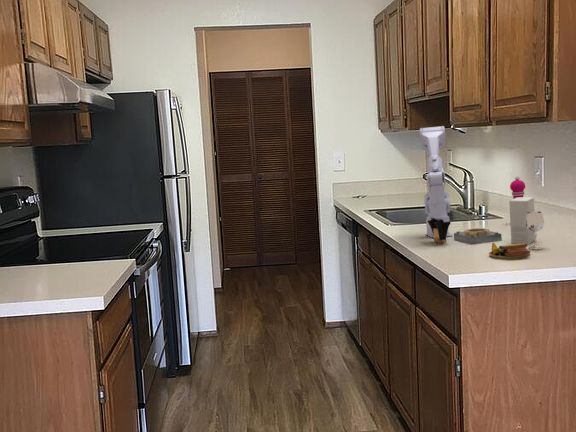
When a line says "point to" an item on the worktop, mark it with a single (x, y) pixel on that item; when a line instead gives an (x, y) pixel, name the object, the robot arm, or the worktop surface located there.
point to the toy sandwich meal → (509, 251)
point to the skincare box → (521, 220)
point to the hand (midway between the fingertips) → (440, 239)
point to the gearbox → (477, 236)
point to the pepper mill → (517, 188)
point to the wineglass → (534, 224)
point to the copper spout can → (437, 237)
